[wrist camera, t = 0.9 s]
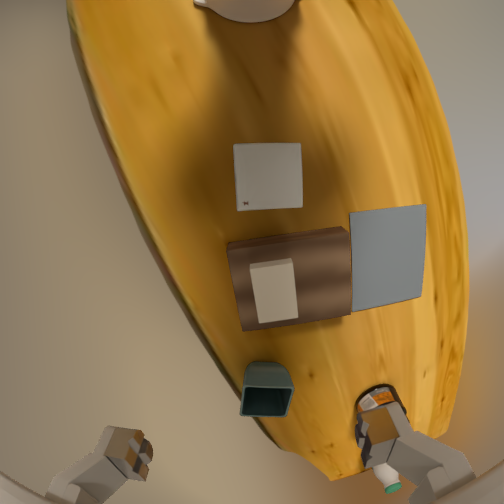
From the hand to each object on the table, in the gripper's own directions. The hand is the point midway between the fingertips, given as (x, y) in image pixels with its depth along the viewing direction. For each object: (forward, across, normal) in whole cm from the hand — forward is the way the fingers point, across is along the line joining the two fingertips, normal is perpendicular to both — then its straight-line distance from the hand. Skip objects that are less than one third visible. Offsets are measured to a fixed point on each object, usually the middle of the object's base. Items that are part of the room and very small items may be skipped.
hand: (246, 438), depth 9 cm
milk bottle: (+39, -27, +68) cm, 83 cm away
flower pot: (+38, +2, +29) cm, 48 cm away
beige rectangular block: (+33, -2, +9) cm, 34 cm away
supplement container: (+38, -23, +45) cm, 63 cm away
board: (+37, -5, +9) cm, 38 cm away
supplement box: (+36, -3, -8) cm, 37 cm away
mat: (+37, -23, +9) cm, 44 cm away
